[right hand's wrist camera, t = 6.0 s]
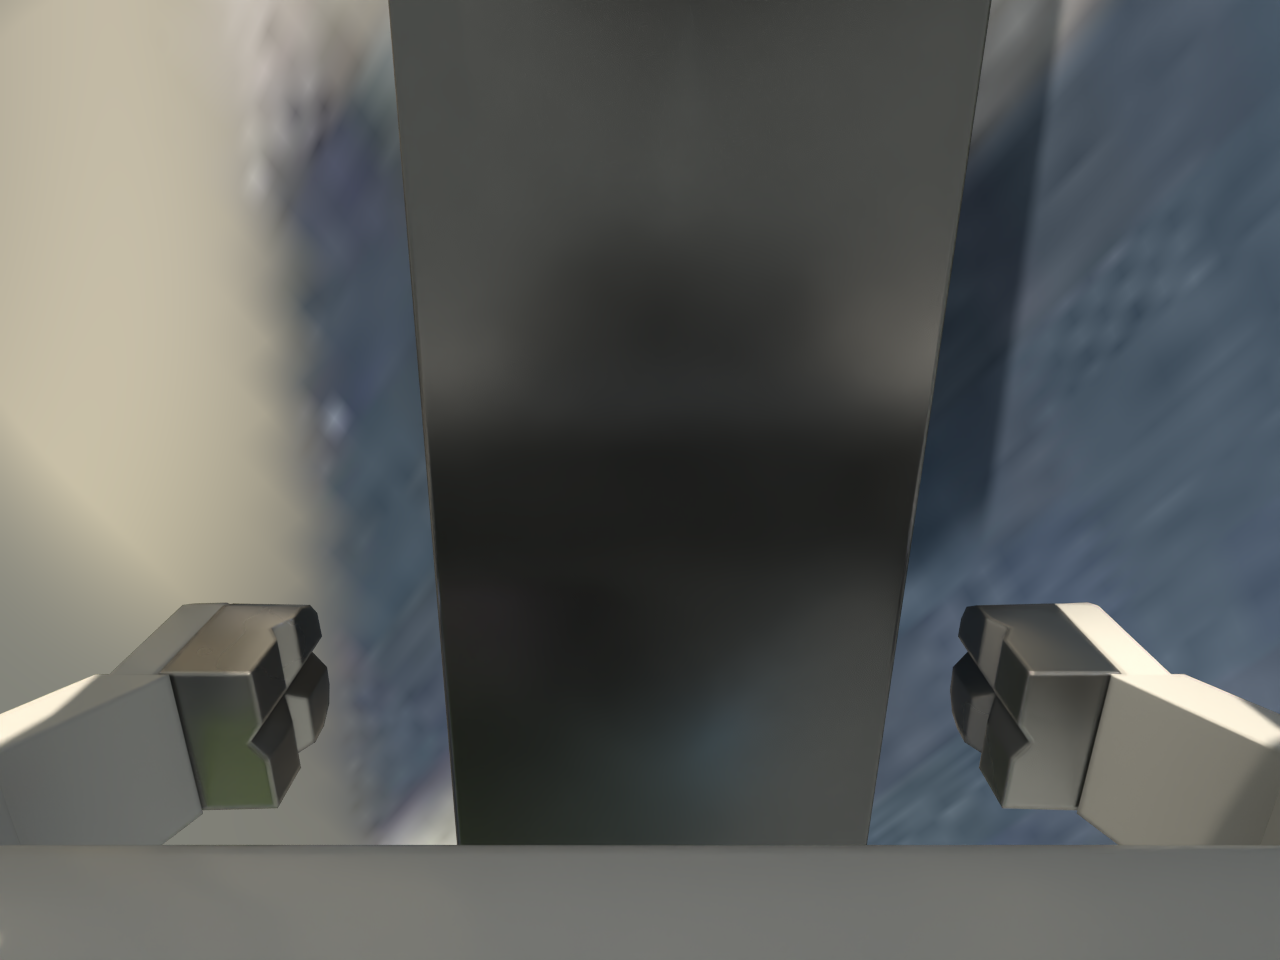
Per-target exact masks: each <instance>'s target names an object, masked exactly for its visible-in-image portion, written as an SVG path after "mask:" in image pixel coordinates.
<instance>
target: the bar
mask: <svg viewBox="0 0 1280 960" xmlns="http://www.w3.org/2000/svg"><path fill="white" fill-rule="evenodd" d="M388 4H389V16H390V28H391V40H392V53H393V65H394V77H395V89H396V102H397V114H398V126H399V138H400V151H401V163H402V175H403V187H404V200H405V212H406V224H407V236H408V249H409V261H410V273H411V285H412V298H413V310H414V322H415V334H416V347H417V359H418V371H419V383H420V396H421V408H422V420H423V432H424V445H425V457H426V469H427V482H428V494H429V506H430V518H431V531H432V543H433V555H434V567H435V580H436V592H437V604H438V616H439V629H440V641H441V653H442V665H443V678H444V690H445V702H446V714H447V727H448V739H449V751H450V763H451V776H452V788H453V800H454V812H455V825H456V837H457V845H867V840H868V833H869V826H870V820H871V813H872V806H873V799H874V793H875V786H876V779H877V772H878V765H879V759H880V752H881V745H882V738H883V732H884V725H885V718H886V711H887V705H888V698H889V691H890V684H891V677H892V671H893V664H894V657H895V650H896V644H897V637H898V630H899V623H900V616H901V610H902V603H903V596H904V589H905V583H906V576H907V569H908V562H909V555H910V549H911V542H912V535H913V528H914V522H915V515H916V508H917V501H918V495H919V488H920V481H921V474H922V467H923V461H924V454H925V447H926V440H927V434H928V427H929V420H930V413H931V406H932V400H933V393H934V386H935V379H936V373H937V366H938V359H939V352H940V346H941V339H942V332H943V325H944V318H945V312H946V305H947V298H948V291H949V285H950V278H951V271H952V264H953V257H954V251H955V244H956V237H957V230H958V224H959V217H960V210H961V203H962V197H963V190H964V183H965V176H966V169H967V163H968V156H969V149H970V142H971V136H972V129H973V122H974V115H975V108H976V102H977V95H978V88H979V81H980V75H981V68H982V61H983V54H984V48H985V41H986V34H987V27H988V20H989V14H990V7H991V0H388Z"/></svg>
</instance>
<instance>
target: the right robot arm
mask: <svg viewBox="0 0 1280 960" xmlns="http://www.w3.org/2000/svg"><path fill="white" fill-rule="evenodd" d="M321 637H322V634H321V629H320V624H319V620H318V615H317V612H316V611H315V610H314V609H313V608H312V607H311V606H310V605H284V604H229V603H197V604H187V605H182V606H181V607H180V608H179V609H178V610H177V611H176V612H175V613H174V614H173V615H172V616H170V618H168V619H167V620H166V621H165V622H164V623H163V624H162V625H161V626H160V627H159V628H158V629H157V630H156V631H155V632H154V633H152V634H151V635H150V636H149V637H148V638H147V639H146V640H145V641H144V642H143V643H142V644H141V645H140V646H139V647H138V648H137V649H136V650H134V651H133V652H132V653H131V654H130V655H129V656H128V657H127V658H126V659H125V660H124V661H123V662H122V663H121V664H120V665H119V666H117V667H116V668H115V669H114V670H113V671H112V672H111V673H110V674H96V675H93V676H91V677H88V678H86V679H83V680H81V681H79V682H76V683H74V684H71V685H69V686H67V687H64V688H62V689H59V690H57V691H55V692H52V693H50V694H48V695H45V696H43V697H40V698H38V699H36V700H33V701H31V702H28V703H26V704H23V705H21V706H19V707H16V708H14V709H11V710H9V711H7V712H4V713H2V714H0V960H1280V714H1278V713H1276V712H1273V711H1271V710H1268V709H1266V708H1264V707H1261V706H1259V705H1256V704H1254V703H1252V702H1249V701H1247V700H1244V699H1242V698H1240V697H1237V696H1235V695H1232V694H1230V693H1228V692H1225V691H1223V690H1220V689H1218V688H1216V687H1213V686H1211V685H1209V684H1206V683H1204V682H1201V681H1199V680H1197V679H1194V678H1192V677H1189V676H1187V675H1185V674H1170V673H1169V672H1168V671H1167V670H1166V669H1165V668H1164V667H1163V666H1162V665H1160V664H1159V663H1158V662H1157V661H1156V660H1155V659H1154V658H1153V657H1152V656H1151V655H1150V654H1149V653H1148V652H1147V651H1146V650H1145V649H1144V648H1143V647H1141V646H1140V645H1139V644H1138V643H1137V642H1136V641H1135V640H1134V639H1133V638H1132V637H1131V636H1130V635H1129V634H1128V633H1127V632H1126V631H1125V630H1123V629H1122V628H1121V627H1120V626H1119V625H1118V624H1117V623H1116V622H1115V621H1114V620H1113V619H1112V618H1111V617H1110V616H1109V615H1108V614H1107V613H1106V612H1104V611H1103V610H1102V609H1101V608H1100V607H1099V606H1097V605H1094V604H1091V603H1065V604H1015V605H976V606H969V607H966V609H965V612H964V614H963V616H962V618H961V623H960V628H959V634H958V637H959V639H960V640H961V642H962V643H963V645H964V646H965V648H966V649H967V651H968V652H967V653H966V654H965V655H964V656H963V657H962V658H961V659H960V660H959V662H958V663H957V664H956V665H955V666H954V667H953V672H952V680H951V688H950V694H951V705H952V713H953V717H954V720H955V723H956V726H957V729H958V731H959V732H960V734H961V736H962V738H963V740H964V742H965V743H967V744H968V745H970V746H972V747H973V748H975V749H976V750H978V751H979V752H981V753H982V754H981V760H980V766H979V768H980V770H981V772H982V774H983V775H984V777H985V779H986V781H987V782H988V784H989V786H990V787H991V789H992V791H993V793H994V794H995V796H996V798H997V800H998V801H999V803H1000V805H1001V807H1002V808H1015V809H1052V810H1078V811H1077V814H1078V815H1080V816H1081V817H1082V818H1084V819H1085V820H1086V821H1088V822H1089V823H1090V824H1092V825H1093V826H1094V827H1096V828H1097V829H1098V830H1099V831H1101V832H1102V833H1103V834H1105V835H1106V836H1107V837H1109V838H1110V839H1111V840H1113V841H1114V842H1115V843H1117V844H1118V845H162V844H164V843H165V842H166V841H168V840H169V839H170V838H172V837H173V836H174V835H176V834H177V833H178V832H179V831H181V830H182V829H183V828H185V827H186V826H187V825H189V824H190V823H191V822H193V821H194V820H195V819H197V818H198V817H199V816H201V815H202V814H203V812H202V810H227V809H263V808H278V807H279V805H280V803H281V801H282V800H283V798H284V796H285V794H286V793H287V791H288V789H289V788H290V786H291V784H292V782H293V781H294V779H295V777H296V775H297V774H298V772H299V770H300V768H301V766H300V760H299V754H298V753H299V752H301V751H302V750H304V749H305V748H307V747H308V746H310V745H312V744H313V743H315V742H316V740H317V738H318V736H319V734H320V732H321V730H322V729H323V727H324V723H325V719H326V715H327V711H328V706H329V678H328V671H327V667H326V666H325V665H324V664H323V663H322V662H321V660H320V659H319V658H318V657H317V656H316V655H315V654H314V653H313V652H312V651H313V649H314V648H315V646H316V645H317V643H318V642H319V640H320V639H321Z"/></svg>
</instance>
